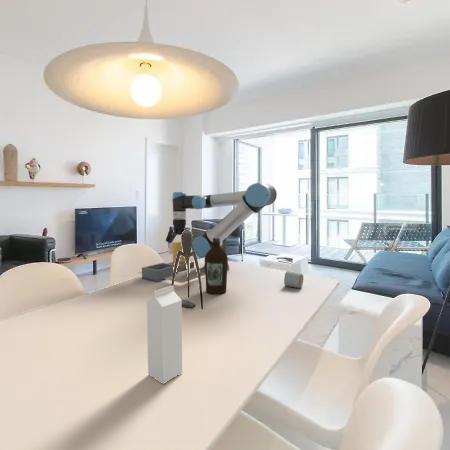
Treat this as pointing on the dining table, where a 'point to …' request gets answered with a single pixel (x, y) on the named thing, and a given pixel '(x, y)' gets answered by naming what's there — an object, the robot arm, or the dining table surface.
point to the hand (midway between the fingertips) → (179, 255)
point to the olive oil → (216, 269)
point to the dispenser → (183, 266)
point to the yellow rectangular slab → (176, 248)
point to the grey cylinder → (293, 279)
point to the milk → (164, 334)
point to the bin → (157, 272)
